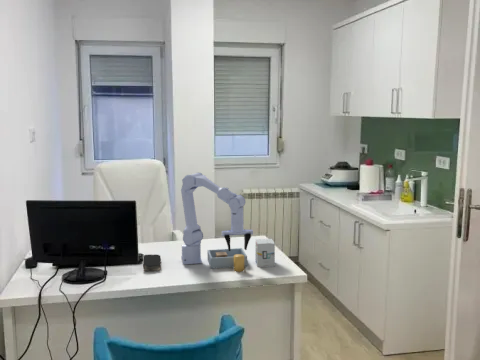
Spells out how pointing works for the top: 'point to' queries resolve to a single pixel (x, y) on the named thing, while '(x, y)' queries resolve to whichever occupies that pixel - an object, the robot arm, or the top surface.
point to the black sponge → (151, 262)
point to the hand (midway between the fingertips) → (237, 249)
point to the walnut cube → (221, 254)
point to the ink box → (265, 253)
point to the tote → (224, 258)
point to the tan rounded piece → (239, 263)
